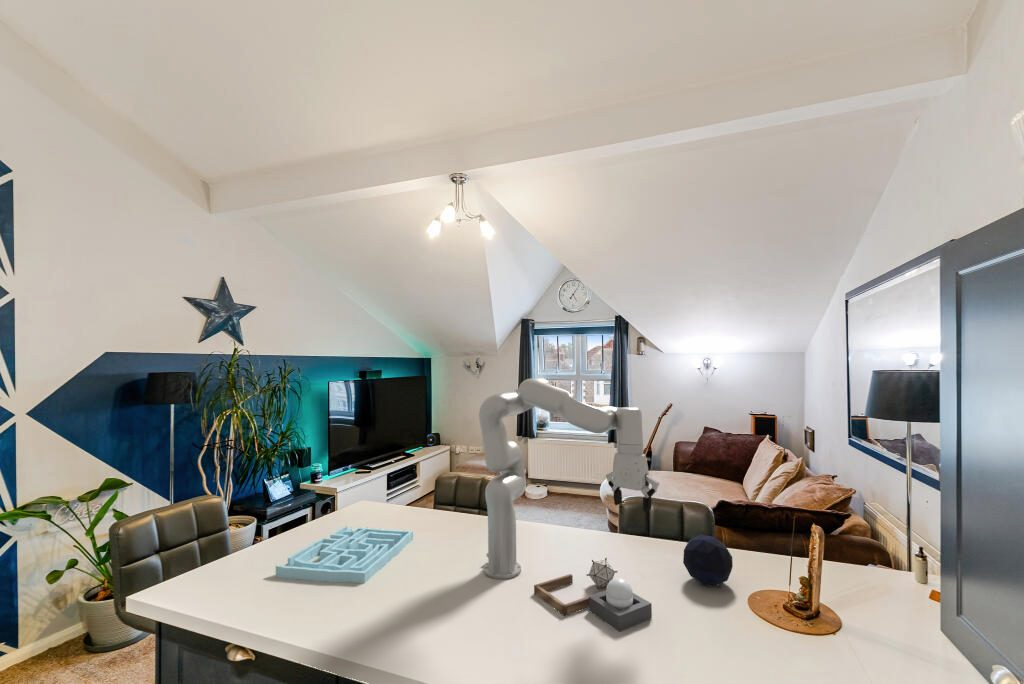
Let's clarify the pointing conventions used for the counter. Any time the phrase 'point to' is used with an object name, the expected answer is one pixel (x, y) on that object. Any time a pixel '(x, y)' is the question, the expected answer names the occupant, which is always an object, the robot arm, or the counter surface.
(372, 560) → the maze
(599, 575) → the game die
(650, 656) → the counter surface
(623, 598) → the dome
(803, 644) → the counter surface
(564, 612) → the walnut bay
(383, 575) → the counter surface
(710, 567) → the decorative orb
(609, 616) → the dome base
